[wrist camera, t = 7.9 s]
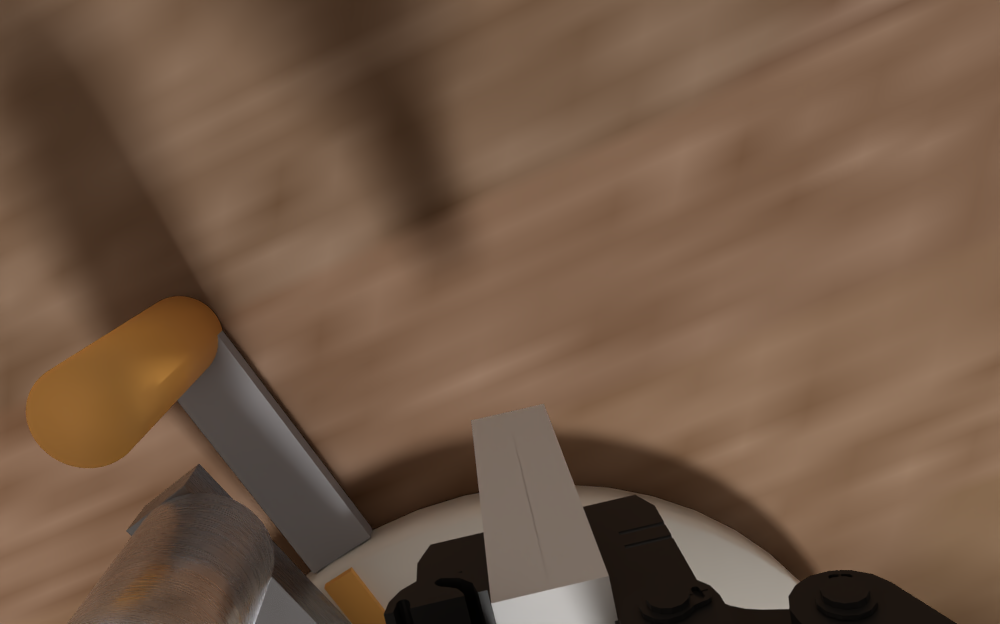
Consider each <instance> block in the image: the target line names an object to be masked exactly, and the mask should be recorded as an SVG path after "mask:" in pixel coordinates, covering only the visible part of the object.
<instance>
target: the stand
mask: <svg viewBox="0 0 1000 624" xmlns="http://www.w3.org/2000/svg"><path fill="white" fill-rule="evenodd" d="M176 401H178V402H179V404H180V405H181V406H182V407H183V409H184V410H185V411H186V413H187V414H188V415H189V416H190V418H191V419H192V420H193V421H194V423H195V424H196V425H197V426H198V428H199V429H200V430H201V432H202V433H203V434H204V435H205V437H206V438H207V439H208V440H209V442H210V443H211V444H212V445H213V447H214V448H215V449H216V451H217V452H218V453H219V454H220V456H221V457H222V458H223V459H224V461H225V462H226V463H227V464H228V466H229V467H230V468H231V470H232V471H233V472H234V473H235V475H236V476H237V477H238V478H239V480H240V481H241V482H242V483H243V485H244V486H245V487H246V489H247V490H248V491H249V492H250V494H251V495H252V496H253V497H254V499H255V500H256V501H257V502H258V504H259V505H260V506H261V508H262V509H263V510H264V511H265V513H266V514H267V515H268V516H269V518H270V519H271V520H272V521H273V523H274V524H275V525H276V527H277V528H278V529H279V530H280V532H281V533H282V534H283V535H284V537H285V538H286V539H287V540H288V542H289V543H290V544H291V546H292V547H293V548H294V549H295V551H296V552H297V553H298V554H299V556H300V557H301V558H302V559H303V561H304V562H305V563H306V565H307V566H308V567H309V568H310V570H311V572H310V573H308V574H307V575H306V576H307V578H308V579H309V580H310V581H311V582H312V583H313V584H314V585H315V586H316V587H317V588H318V589H319V590H320V591H321V592H322V593H323V594H324V595H325V596H326V597H327V599H328V600H329V601H330V602H331V603H332V604H333V605H334V606H335V607H336V608H337V609H338V610H339V611H340V612H341V613H342V614H343V615H344V616H345V617H346V618H347V620H348V621H349V622H350V623H351V624H386V622H385V618H384V612H385V610H386V607H387V605H388V603H389V601H390V600H391V599H392V598H393V597H394V596H395V595H396V594H397V593H398V592H399V591H400V590H402V589H404V588H406V587H407V586H409V585H411V584H412V583H414V582H416V579H417V563H418V562H419V560H420V559H421V557H422V556H423V554H424V553H425V551H426V550H427V549H428V547H429V546H430V545H431V544H435V543H439V542H444V541H448V540H452V539H456V538H461V537H465V536H469V535H474V534H478V533H482V532H483V523H482V514H481V505H480V496H479V493H476V494H471V495H465V496H461V497H458V498H455V499H452V500H448V501H445V502H442V503H439V504H435V505H432V506H429V507H426V508H423V509H419V510H416V511H414V512H412V513H410V514H407V515H405V516H403V517H401V518H399V519H396V520H394V521H392V522H390V523H387V524H385V525H383V526H381V527H379V528H376V529H374V530H372V528H371V526H370V525H369V524H368V522H367V521H366V520H365V518H364V517H363V516H362V514H361V513H360V512H359V510H358V509H357V508H356V506H355V505H354V504H353V503H352V501H351V500H350V499H349V497H348V496H347V495H346V493H345V492H344V491H343V489H342V488H341V487H340V485H339V484H338V483H337V481H336V480H335V479H334V477H333V476H332V475H331V473H330V472H329V471H328V469H327V468H326V467H325V465H324V464H323V463H322V462H321V460H320V459H319V458H318V456H317V455H316V454H315V452H314V451H313V450H312V448H311V447H310V446H309V444H308V443H307V442H306V440H305V439H304V438H303V436H302V435H301V434H300V432H299V431H298V430H297V428H296V427H295V426H294V424H293V423H292V422H291V421H290V419H289V418H288V417H287V415H286V414H285V413H284V411H283V410H282V409H281V407H280V406H279V405H278V403H277V402H276V401H275V399H274V398H273V397H272V395H271V394H270V393H269V391H268V390H267V389H266V387H265V386H264V385H263V383H262V382H261V381H260V380H259V378H258V377H257V376H256V374H255V373H254V372H253V370H252V369H251V368H250V366H249V365H248V364H247V362H246V361H245V360H244V358H243V357H242V356H241V354H240V353H239V352H238V350H237V349H236V348H235V346H234V345H233V344H232V342H231V341H230V340H229V339H228V337H227V336H226V335H225V333H224V332H223V331H222V327H221V324H220V321H219V320H218V318H217V316H216V315H215V313H214V312H213V311H212V310H211V309H210V308H209V307H208V306H207V305H205V304H204V303H202V302H200V301H198V300H196V299H193V298H190V297H184V296H174V297H169V298H165V299H163V300H161V301H159V302H157V303H156V304H154V305H152V306H151V307H149V308H148V309H146V310H144V311H143V312H141V313H140V314H138V315H136V316H135V317H133V318H132V319H130V320H128V321H127V322H125V323H124V324H122V325H120V326H119V327H117V328H116V329H114V330H113V331H111V332H109V333H108V334H106V335H105V336H103V337H101V338H100V339H98V340H97V341H95V342H93V343H92V344H90V345H89V346H87V347H85V348H84V349H82V350H81V351H79V352H77V353H76V354H74V355H73V356H71V357H69V358H68V359H66V360H65V361H63V362H62V363H60V364H58V365H57V366H55V367H54V368H52V369H50V370H49V371H47V372H46V373H44V374H43V375H42V376H41V377H40V378H39V379H38V380H37V381H36V383H35V384H34V386H33V387H32V389H31V391H30V393H29V396H28V399H27V404H26V418H27V423H28V426H29V429H30V432H31V434H32V436H33V438H34V439H35V441H36V442H37V443H38V445H39V446H40V447H41V448H42V449H43V450H44V451H45V452H46V453H47V454H49V455H50V456H51V457H53V458H55V459H56V460H58V461H60V462H62V463H65V464H67V465H71V466H74V467H80V468H97V467H103V466H106V465H109V464H112V463H114V462H116V461H118V460H120V459H121V458H123V457H124V456H125V455H126V454H128V453H129V451H130V450H131V449H132V448H133V447H134V446H135V445H136V444H137V443H138V442H139V441H140V440H141V439H142V438H143V437H144V435H145V434H146V433H147V432H148V431H149V430H150V429H151V428H152V427H153V426H154V425H155V424H156V423H157V422H158V420H159V419H160V418H161V417H162V416H163V415H164V414H165V413H166V412H167V411H168V410H169V409H170V408H171V407H172V406H173V404H174V403H175V402H176ZM575 488H576V490H577V493H578V496H579V498H580V501H581V503H582V506H583V507H584V506H588V505H592V504H597V503H601V502H605V501H610V500H614V499H618V498H623V497H627V496H631V495H637V496H638V497H640V498H642V499H644V500H646V501H647V502H649V503H651V504H653V505H655V507H656V509H657V510H658V512H659V514H660V516H661V517H662V519H663V521H664V524H665V525H666V526H667V528H668V530H669V531H670V533H671V536H672V538H673V539H674V540H675V542H676V544H677V546H678V547H679V549H680V551H681V553H682V554H683V556H684V558H685V560H686V561H687V563H688V565H689V567H690V568H691V570H692V572H693V574H694V575H695V577H696V579H697V580H698V581H701V582H703V583H706V584H708V585H710V586H711V587H712V588H713V589H714V590H715V591H716V592H717V593H719V594H720V596H721V598H722V599H723V601H724V603H725V604H727V605H730V606H735V607H740V608H744V609H761V610H766V609H789V598H788V596H789V595H790V593H791V591H792V590H793V588H794V587H795V585H796V584H798V583H799V582H800V581H799V580H798V579H797V578H796V577H795V576H794V575H793V574H791V573H790V572H789V571H788V570H787V569H786V568H785V567H784V566H783V565H782V564H781V563H779V562H778V561H777V560H776V559H775V558H774V557H773V556H772V555H771V554H770V553H768V552H767V551H765V550H764V549H762V548H761V547H759V546H758V545H756V544H755V543H754V542H752V541H751V540H749V539H748V538H746V537H745V536H743V535H742V534H740V533H739V532H737V531H736V530H734V529H732V528H730V527H728V526H726V525H724V524H722V523H720V522H718V521H716V520H714V519H712V518H710V517H708V516H706V515H704V514H702V513H700V512H698V511H696V510H693V509H690V508H687V507H684V506H681V505H678V504H675V503H672V502H669V501H666V500H663V499H660V498H657V497H654V496H649V495H644V494H639V493H634V492H629V491H624V490H619V489H613V488H608V487H595V486H580V485H575Z"/></svg>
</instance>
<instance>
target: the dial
mask: <svg viewBox="0 0 1000 624" xmlns="http://www.w3.org/2000/svg"><path fill="white" fill-rule="evenodd" d="M127 532H128V533H129V534H130V535H131V538H130V539H129V540H128V542H127V543H126V544H125V546H124V547H123V549H122V550H121V551H120V553H119V554H118V555H117V557H116V558H115V559H114V561H113V562H112V564H111V565H110V566H109V568H108V569H107V570H106V572H105V573H104V574H103V576H102V577H101V578H100V580H99V581H98V583H97V584H96V585H95V587H94V588H93V589H92V591H91V592H90V593H89V595H88V596H87V598H86V599H85V600H84V602H83V603H82V604H81V606H80V607H79V608H78V610H77V611H76V613H75V614H74V615H73V617H72V618H71V619H70V621H69V622H68V623H67V624H351V623H350V622H349V621H348V620H347V618H346V617H345V616H344V615H343V614H342V613H341V612H340V611H339V610H338V609H337V608H336V607H335V606H334V605H333V604H332V603H331V602H330V601H329V600H328V599H327V597H326V596H325V595H324V594H323V593H322V592H321V591H320V590H319V589H318V588H317V587H316V586H315V585H314V584H313V583H312V582H311V581H310V580H309V579H308V578H307V576H306V575H305V574H304V573H303V572H302V571H301V570H300V569H299V568H298V567H297V566H296V565H295V564H294V563H293V562H292V561H291V560H290V559H289V558H288V557H287V555H286V554H285V553H284V552H283V551H282V550H281V549H280V548H279V547H278V546H277V545H276V544H275V543H274V542H273V541H272V540H271V537H270V535H269V533H268V531H267V529H266V528H265V526H264V524H263V523H262V522H261V520H260V519H259V518H258V517H257V516H256V515H255V514H254V513H253V512H252V511H251V510H249V509H248V508H247V507H245V506H244V505H242V504H240V503H239V502H237V501H235V500H233V499H232V498H231V497H230V496H229V495H228V494H227V493H226V491H225V490H224V489H223V488H222V487H221V486H220V485H219V484H218V483H217V482H216V481H215V480H214V479H213V478H212V477H211V476H210V475H209V474H208V473H207V472H206V470H205V469H204V468H203V467H202V466H201V465H200V464H198V465H197V466H195V467H194V468H193V469H192V470H190V471H189V472H188V473H187V474H185V475H184V476H183V477H181V478H180V479H179V480H178V481H176V482H175V483H174V484H173V485H171V486H170V487H169V488H167V489H166V490H165V491H164V492H162V493H161V494H160V495H159V496H157V497H156V498H155V499H153V500H152V501H151V502H150V503H148V504H147V505H146V506H145V507H144V508H143V509H142V511H141V512H140V513H139V515H138V516H137V517H136V519H135V520H134V521H133V523H132V524H131V525H130V527H129V528H128V529H127Z"/></svg>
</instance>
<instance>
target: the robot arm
mask: <svg viewBox="0 0 1000 624" xmlns="http://www.w3.org/2000/svg"><path fill="white" fill-rule="evenodd" d="M471 423H472V432H473V441H474V450H475V459H476V468H477V478H478V487H479V496H480V505H481V514H482V523H483V532H482V533H478V534H474V535H469V536H465V537H461V538H456V539H452V540H448V541H444V542H439V543H435V544H431V545H430V546H429V547H428V549H427V550H426V551H425V553H424V554H423V556H422V557H421V559H420V560H419V562H418V563H417V579H416V582H414V583H412V584H411V585H409V586H407V587H406V588H404V589H402V590H400V591H399V592H398V593H397V594H396V595H395V596H394V597H393V598H392V599H391V600H390V601H389V603H388V605H387V607H386V610H385V612H384V618H385V622H386V624H957V623H955V622H953V621H952V620H950V619H949V618H947V617H945V616H944V615H942V614H941V613H939V612H937V611H936V610H934V609H933V608H931V607H930V606H928V605H926V604H925V603H923V602H922V601H920V600H918V599H917V598H915V597H914V596H912V595H910V594H909V593H907V592H906V591H904V590H902V589H901V588H899V587H898V586H896V585H895V584H893V583H891V582H889V581H887V580H885V579H882V578H880V577H878V576H876V575H873V574H869V573H863V572H858V571H852V570H840V571H837V570H836V571H827V572H823V573H820V574H816V575H812V576H809V577H808V578H806V579H804V580H803V581H801V582H799V583H798V584H796V585H795V587H794V588H793V590H792V591H791V593H790V595H789V596H788V598H789V609H766V610H761V609H744V608H740V607H735V606H730V605H727V604H725V603H724V601H723V599H722V598H721V596H720V594H719V593H717V592H716V591H715V590H714V589H713V588H712V587H711V586H710V585H708V584H706V583H703V582H701V581H698V580H697V579H696V577H695V575H694V574H693V572H692V570H691V568H690V567H689V565H688V563H687V561H686V560H685V558H684V556H683V554H682V553H681V551H680V549H679V547H678V546H677V544H676V542H675V540H674V539H673V538H672V536H671V533H670V531H669V530H668V528H667V526H666V525H665V524H664V521H663V519H662V517H661V516H660V514H659V512H658V510H657V509H656V507H655V505H653V504H651V503H649V502H647V501H646V500H644V499H642V498H640V497H638V496H637V495H631V496H627V497H623V498H618V499H614V500H610V501H605V502H601V503H597V504H592V505H588V506H584V507H583V506H582V503H581V501H580V498H579V496H578V493H577V490H576V488H575V485H574V482H573V480H572V477H571V474H570V472H569V469H568V466H567V464H566V461H565V458H564V456H563V453H562V451H561V448H560V445H559V443H558V440H557V437H556V435H555V432H554V429H553V427H552V424H551V421H550V419H549V416H548V413H547V411H546V408H545V405H544V404H541V405H537V406H532V407H528V408H524V409H519V410H515V411H511V412H506V413H502V414H498V415H493V416H489V417H485V418H480V419H476V420H471Z"/></svg>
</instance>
